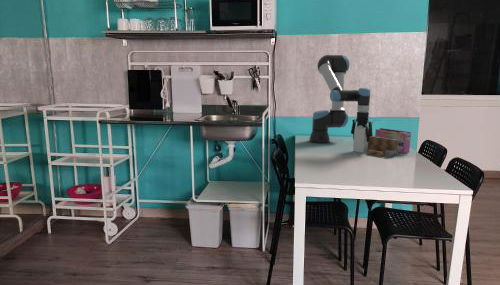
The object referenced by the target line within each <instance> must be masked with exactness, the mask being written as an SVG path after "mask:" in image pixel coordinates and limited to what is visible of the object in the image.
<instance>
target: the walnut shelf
mask: <svg viewBox="0 0 500 285" xmlns="http://www.w3.org/2000/svg"><path fill="white" fill-rule="evenodd" d="M391 149H397V150H398V140H395V139H388V138H381V137H375V136H370V138H369V142H368V150H367V155H369V156H374V157H380V158H383V156H384V154H385V151H387V150H391ZM397 150H396V156H398V152H397Z"/></svg>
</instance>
